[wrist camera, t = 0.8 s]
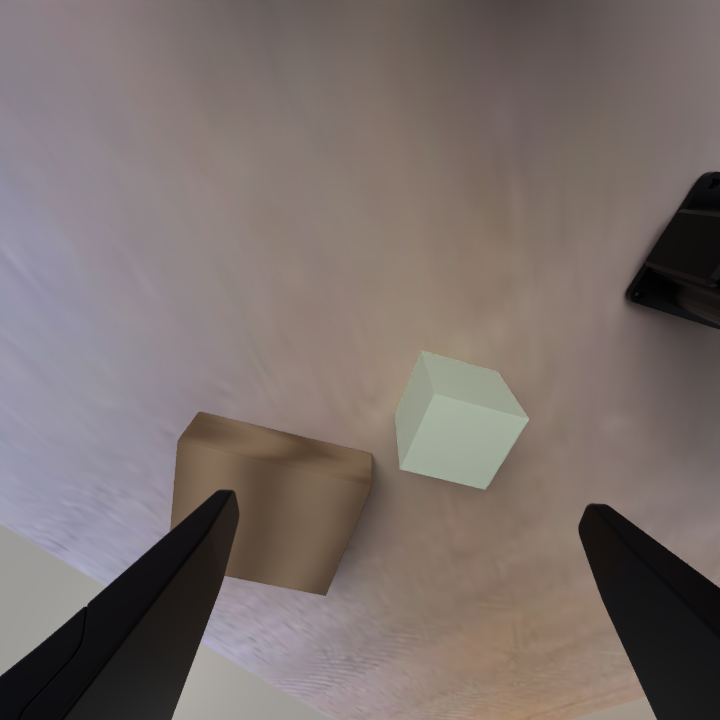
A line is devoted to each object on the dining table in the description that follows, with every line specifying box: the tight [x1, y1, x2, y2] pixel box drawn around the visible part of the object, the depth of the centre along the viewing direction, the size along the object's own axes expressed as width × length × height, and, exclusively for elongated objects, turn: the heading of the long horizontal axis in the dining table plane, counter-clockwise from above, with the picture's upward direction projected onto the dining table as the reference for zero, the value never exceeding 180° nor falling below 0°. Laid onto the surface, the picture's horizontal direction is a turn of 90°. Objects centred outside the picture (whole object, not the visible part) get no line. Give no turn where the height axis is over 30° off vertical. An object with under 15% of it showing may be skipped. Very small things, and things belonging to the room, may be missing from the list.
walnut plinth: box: [170, 412, 372, 596], centre depth 26 cm, size 12×12×3 cm
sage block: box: [395, 350, 529, 490], centre depth 21 cm, size 5×5×5 cm
